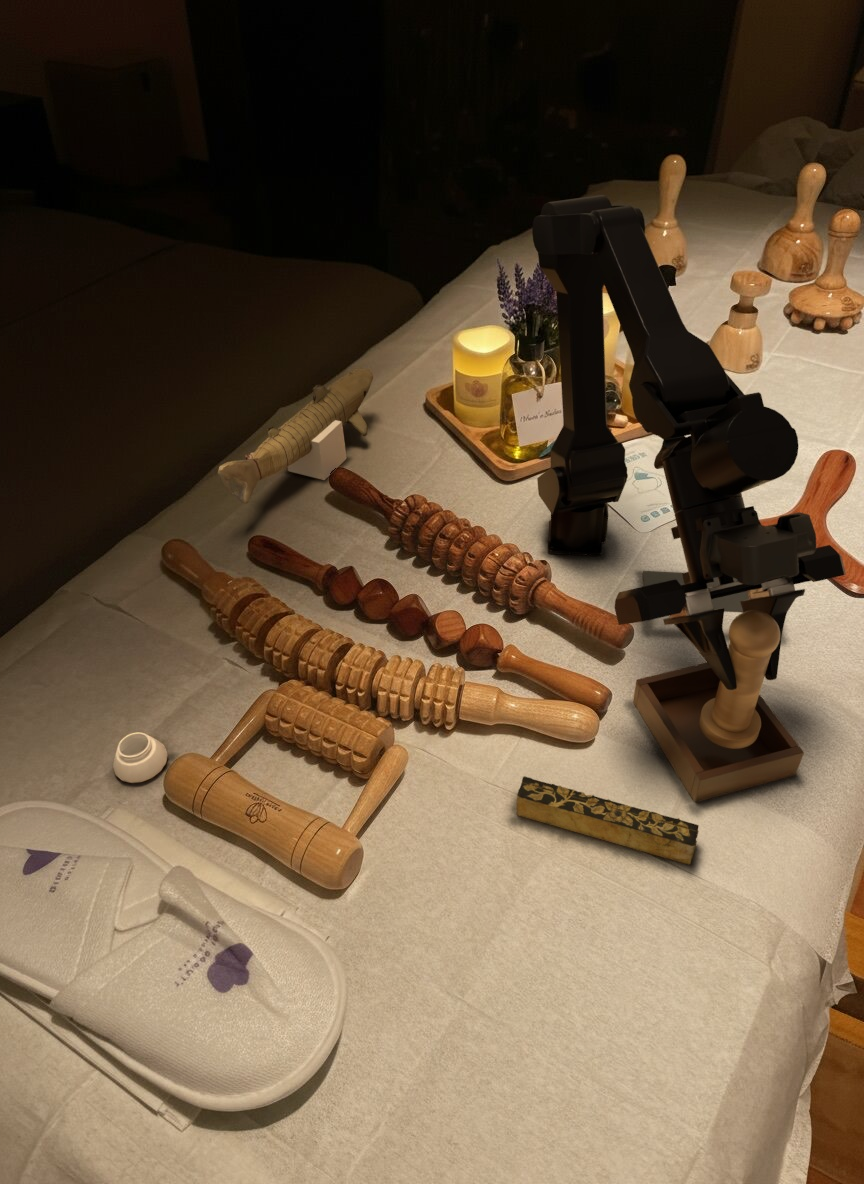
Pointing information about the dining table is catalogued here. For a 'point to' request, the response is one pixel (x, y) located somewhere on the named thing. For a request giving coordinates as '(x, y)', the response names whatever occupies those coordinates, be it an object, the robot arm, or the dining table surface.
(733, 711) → the wooden pestle
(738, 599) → the mat
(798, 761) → the box
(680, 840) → the decorative block
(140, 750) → the lidless jar
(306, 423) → the wood carving
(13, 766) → the dining table surface
